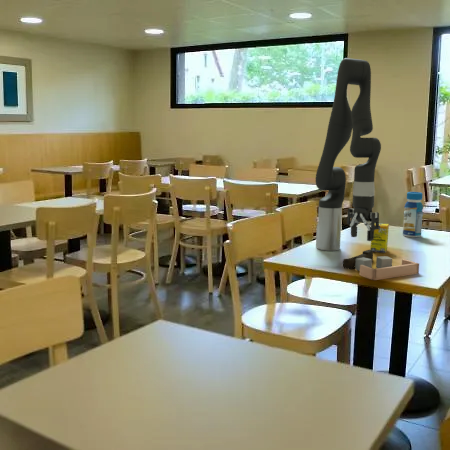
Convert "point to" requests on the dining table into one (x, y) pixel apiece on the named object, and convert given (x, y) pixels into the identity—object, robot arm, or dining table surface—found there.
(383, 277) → the pink rectangular tray
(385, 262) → the stone
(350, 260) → the hand tool
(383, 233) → the supplement box
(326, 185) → the robot arm
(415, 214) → the beverage bottle
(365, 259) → the stone
